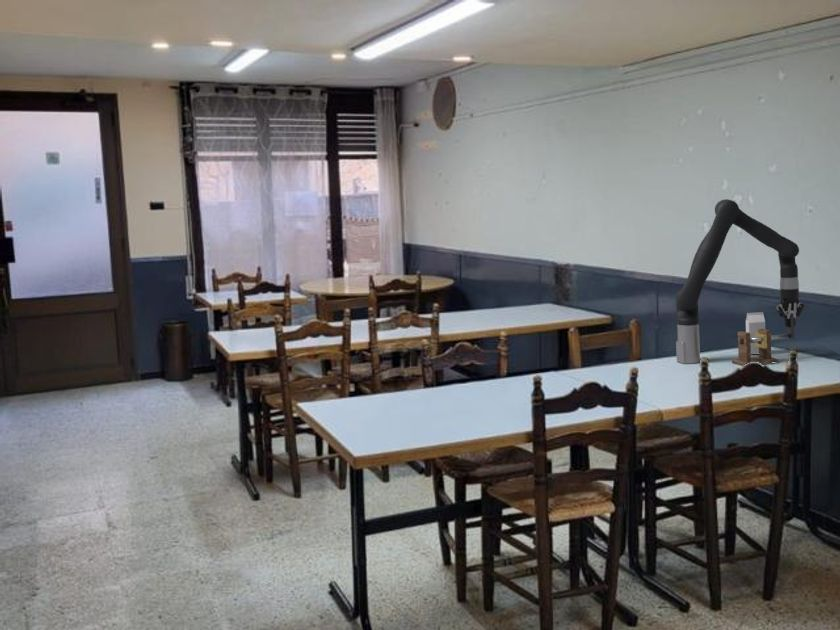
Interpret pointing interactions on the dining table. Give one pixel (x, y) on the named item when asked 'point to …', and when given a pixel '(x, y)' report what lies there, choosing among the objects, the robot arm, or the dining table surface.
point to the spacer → (764, 340)
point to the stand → (745, 349)
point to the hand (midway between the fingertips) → (790, 326)
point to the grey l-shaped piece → (784, 336)
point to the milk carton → (754, 327)
